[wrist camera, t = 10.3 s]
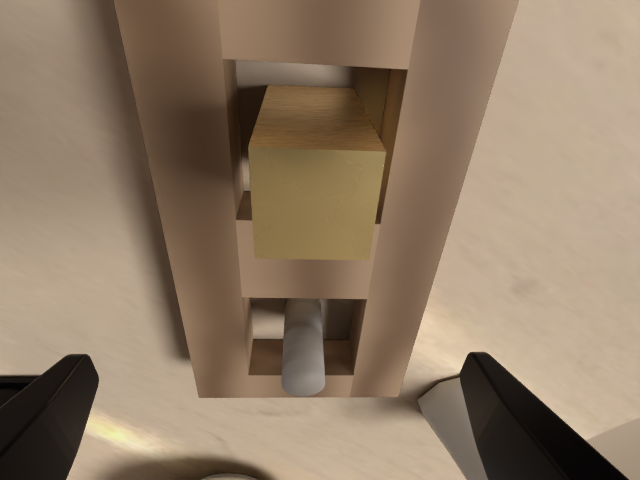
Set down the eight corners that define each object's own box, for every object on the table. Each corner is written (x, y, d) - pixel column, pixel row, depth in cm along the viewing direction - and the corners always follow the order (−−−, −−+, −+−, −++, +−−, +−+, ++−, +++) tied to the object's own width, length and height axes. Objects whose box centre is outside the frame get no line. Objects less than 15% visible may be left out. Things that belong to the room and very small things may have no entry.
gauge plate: (207, 361, 28) (188, 441, 23) (139, -30, 15) (56, -36, 10) (389, 362, 29) (407, 439, 24) (484, -5, 15) (570, 1, 11)
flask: (401, 396, 32) (436, 539, 24) (478, 360, 30) (546, 505, 21) (442, 429, 35) (485, 564, 27) (514, 398, 33) (585, 537, 25)
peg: (270, 165, 19) (254, 258, 13) (268, 84, 17) (248, 147, 11) (346, 168, 20) (369, 260, 13) (354, 88, 17) (386, 151, 11)
